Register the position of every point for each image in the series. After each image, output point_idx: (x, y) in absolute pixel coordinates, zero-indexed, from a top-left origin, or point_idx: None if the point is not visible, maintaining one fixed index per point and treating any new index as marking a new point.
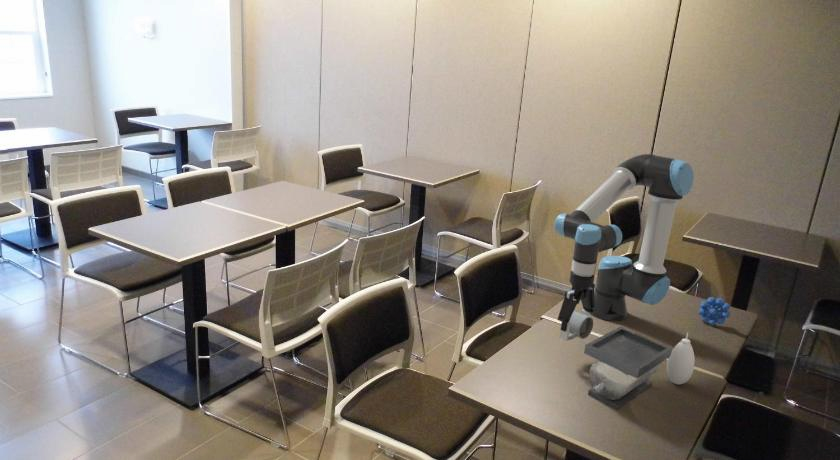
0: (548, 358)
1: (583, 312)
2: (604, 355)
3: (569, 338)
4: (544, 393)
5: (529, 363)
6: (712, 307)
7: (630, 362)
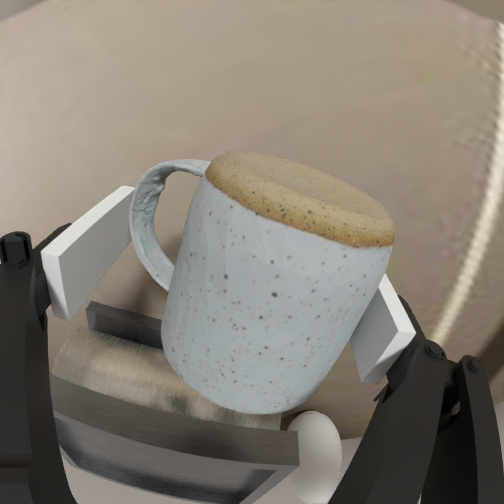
0: (183, 111)
1: (383, 336)
2: None
3: (145, 244)
4: (12, 213)
5: (95, 80)
6: None
7: (95, 458)
